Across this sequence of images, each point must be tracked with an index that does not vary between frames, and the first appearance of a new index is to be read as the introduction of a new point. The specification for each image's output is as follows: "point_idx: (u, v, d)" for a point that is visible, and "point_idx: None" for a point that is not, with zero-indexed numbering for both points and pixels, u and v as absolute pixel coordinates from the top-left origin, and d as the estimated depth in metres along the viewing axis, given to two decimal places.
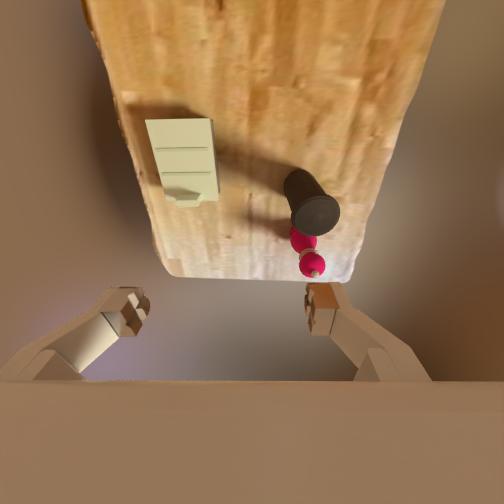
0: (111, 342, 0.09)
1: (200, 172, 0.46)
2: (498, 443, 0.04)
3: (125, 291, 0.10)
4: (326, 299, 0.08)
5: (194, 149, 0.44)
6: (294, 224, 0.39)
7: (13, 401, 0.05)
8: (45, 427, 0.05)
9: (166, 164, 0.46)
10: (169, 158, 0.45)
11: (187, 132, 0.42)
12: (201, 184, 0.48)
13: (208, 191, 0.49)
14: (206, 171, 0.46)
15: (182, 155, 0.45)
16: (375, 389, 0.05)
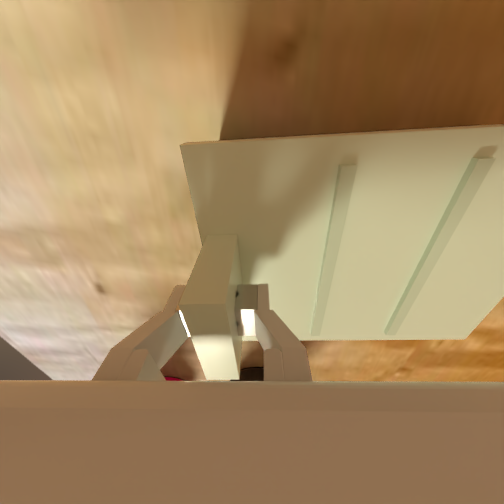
0: (182, 342, 0.09)
1: (324, 314, 0.13)
2: (497, 442, 0.04)
3: None
4: (247, 301, 0.09)
5: (406, 306, 0.12)
6: None
7: (13, 401, 0.05)
8: (45, 427, 0.05)
9: (390, 192, 0.09)
10: (411, 212, 0.09)
11: (466, 290, 0.12)
12: (279, 307, 0.13)
13: None
14: (323, 324, 0.14)
15: (400, 265, 0.11)
16: (375, 389, 0.05)
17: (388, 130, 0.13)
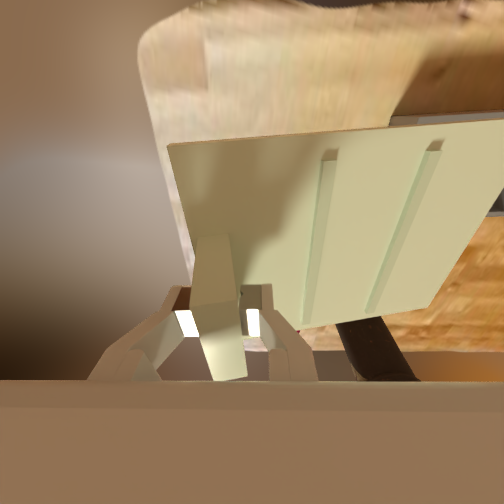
0: (178, 342, 0.09)
1: (313, 302, 0.14)
2: (497, 442, 0.04)
3: None
4: (251, 301, 0.09)
5: (382, 285, 0.14)
6: None
7: (13, 401, 0.05)
8: (45, 427, 0.05)
9: (364, 183, 0.10)
10: (381, 200, 0.10)
11: (426, 264, 0.14)
12: None
13: None
14: (312, 312, 0.14)
15: (375, 248, 0.12)
16: (375, 389, 0.05)
17: None
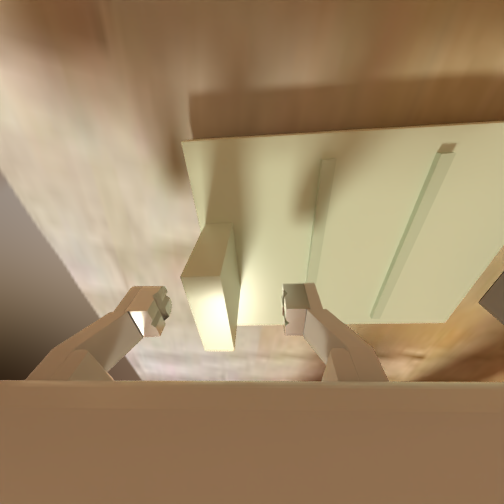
0: (136, 342, 0.09)
1: None
2: (497, 442, 0.04)
3: (149, 291, 0.09)
4: (297, 300, 0.08)
5: (388, 290, 0.13)
6: None
7: (13, 401, 0.05)
8: (45, 427, 0.05)
9: (367, 183, 0.10)
10: (387, 202, 0.10)
11: (442, 274, 0.13)
12: (272, 292, 0.14)
13: (249, 306, 0.15)
14: None
15: (380, 251, 0.12)
16: (375, 389, 0.05)
17: None
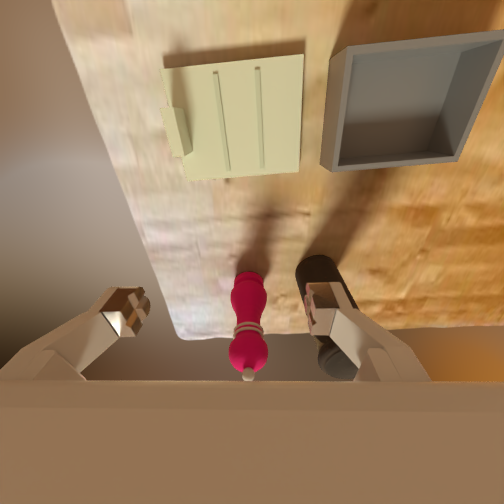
0: (111, 342, 0.09)
1: (228, 154, 0.29)
2: (498, 443, 0.04)
3: (125, 291, 0.10)
4: (325, 299, 0.08)
5: (261, 146, 0.29)
6: None
7: (13, 401, 0.05)
8: (45, 427, 0.05)
9: (233, 85, 0.25)
10: (244, 94, 0.26)
11: (283, 136, 0.28)
12: (208, 153, 0.29)
13: (199, 164, 0.30)
14: (230, 163, 0.30)
15: (250, 122, 0.27)
16: (375, 389, 0.05)
17: None
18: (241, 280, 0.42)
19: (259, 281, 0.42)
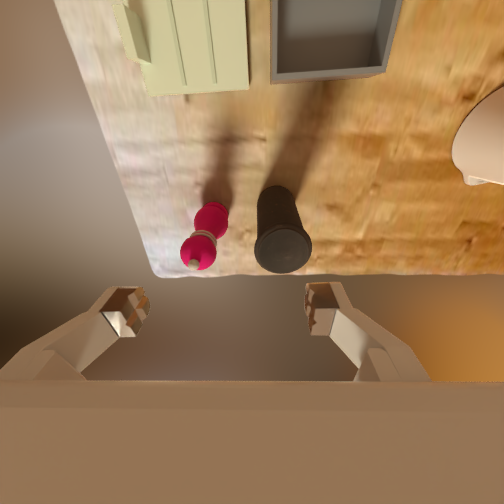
0: (111, 342, 0.09)
1: (182, 67, 0.32)
2: (497, 442, 0.04)
3: (125, 291, 0.10)
4: (326, 299, 0.08)
5: (211, 59, 0.32)
6: (273, 229, 0.28)
7: (13, 401, 0.05)
8: (45, 427, 0.05)
9: None
10: (192, 3, 0.29)
11: (231, 49, 0.31)
12: (165, 65, 0.32)
13: (158, 78, 0.33)
14: (186, 77, 0.33)
15: (201, 34, 0.30)
16: (375, 389, 0.05)
17: None
18: None
19: (222, 210, 0.46)
